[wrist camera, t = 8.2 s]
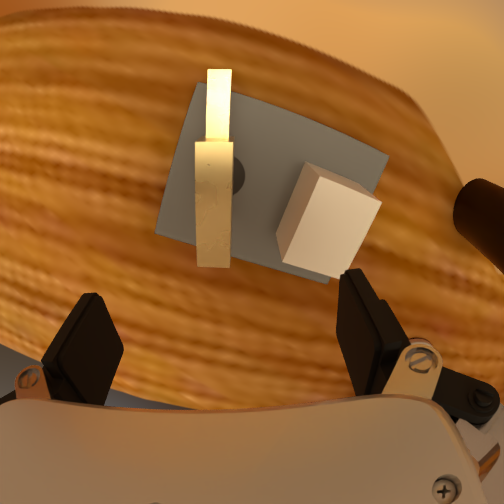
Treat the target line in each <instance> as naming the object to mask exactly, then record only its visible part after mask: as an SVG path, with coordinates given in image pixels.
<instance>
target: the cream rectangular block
mask: <svg viewBox="0 0 504 504" xmlns="http://www.w3.org/2000/svg"><path fill="white" fill-rule="evenodd" d="M381 203H382V202H381V201H380V200H378V199H377V198H376V197H375V196H374V195H372V194H371V193H370V192H369V191H367V190H366V189H365V188H364V187H362V186H361V185H360V184H359V183H357V182H354V181H352V180H350V179H347V178H345V177H343V176H340V175H338V174H336V173H333V172H331V171H328V170H326V169H323V168H321V167H318V166H316V165H313V164H311V163H308V162H306V161H305V164H304V166H303V168H302V171H301V173H300V176H299V178H298V181H297V183H296V186H295V188H294V190H293V193H292V195H291V198H290V200H289V202H288V205H287V207H286V210H285V212H284V215H283V217H282V219H281V222H280V224H279V227H278V229H277V231H276V237H277V241H278V246H279V250H280V254H281V259H282V262H284V263H287V264H290V265H294V266H297V267H300V268H304V269H307V270H310V271H314V272H317V273H320V274H324V275H327V276H330V277H334V278H337V279H340V275H341V274H344V272H345V270H348V268H349V266H350V264H351V262H352V261H353V259H354V257H355V255H356V253H357V251H358V249H359V247H360V245H361V243H362V242H363V240H364V238H365V236H366V234H367V232H368V230H369V228H370V226H371V224H372V222H373V220H374V218H375V216H376V214H377V212H378V210H379V207H380V205H381Z"/></svg>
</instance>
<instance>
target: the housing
mask: <svg viewBox="0 0 504 504" xmlns="http://www.w3.org/2000/svg"><path fill="white" fill-rule="evenodd" d="M206 110H207V84H205V83H201V82H198V83H197V86H196V89H195V91H194V94H193V97H192V100H191V103H190V106H189V109H188V112H187V115H186V119H185V122H184V125H183V128H182V131H181V134H180V138H179V141H178V144H177V148H176V151H175V155H174V158H173V162H172V165H171V169H170V173H169V176H168V180H167V184H166V188H165V192H164V196H163V200H162V204H161V208H160V212H159V216H158V220H157V225H156V229H155V234H158V235H162V236H165V237H168V238H172V239H175V240H178V241H181V242H185V243H188V244H191V245H195V246H196V214H195V142H196V141H197V140H198V139H199V138H200V137H202V136H206ZM229 136H234V137H235V141H234V169H233V202H232V241H231V256H232V257H235V258H238V259H242V260H245V261H249V262H252V263H255V264H259V265H262V266H266V267H269V268H272V269H276V270H279V271H283V272H286V273H290V274H293V275H296V276H300V277H303V278H307V279H310V280H314V281H317V282H321V283H324V284H327V283H328V282H329V280H330V278H331V277H330V276H327V275H324V274H320V273H317V272H314V271H310V270H307V269H304V268H300V267H297V266H294V265H290V264H287V263H284V262H282V259H281V254H280V250H279V246H278V241H277V237H276V231H277V229H278V227H279V224H280V222H281V219H282V217H283V215H284V212H285V210H286V207H287V205H288V202H289V200H290V198H291V195H292V193H293V190H294V188H295V186H296V183H297V181H298V178H299V176H300V173H301V171H302V168H303V166H304V164H305V161H306V162H308V163H311V164H313V165H316V166H318V167H321V168H323V169H326V170H328V171H331V172H333V173H336V174H338V175H340V176H343V177H345V178H347V179H350V180H352V181H354V182H357V183H359V184H360V185H361V186H362V187H364V188H365V189H366V190H367V191H369V192H370V193H371V194H373V192H374V190H375V188H376V185H377V183H378V181H379V179H380V177H381V174H382V172H383V170H384V168H385V165H386V163H387V161H388V159H389V156H388V155H386V154H384V153H382V152H380V151H378V150H376V149H374V148H372V147H370V146H368V145H366V144H364V143H362V142H360V141H358V140H356V139H354V138H352V137H350V136H347V135H345V134H343V133H341V132H339V131H336V130H334V129H332V128H330V127H327V126H325V125H323V124H320V123H318V122H315V121H313V120H311V119H308V118H306V117H303V116H301V115H298V114H296V113H293V112H290V111H288V110H285V109H282V108H280V107H277V106H274V105H271V104H269V103H266V102H263V101H260V100H257V99H254V98H251V97H248V96H245V95H242V94H239V93H235V92H232V91H231V100H230V125H229Z"/></svg>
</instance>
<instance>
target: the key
mask: <svg viewBox="0 0 504 504" xmlns="http://www.w3.org/2000/svg"><path fill="white" fill-rule="evenodd" d="M231 78H232V70H231V69H208V82H207V110H206V136H202V137H200V138H199V139H198V140H197V141H196V142H195V214H196V249H197V267H221V268H230V259H231V241H232V202H233V169H234V141H235V137H234V136H229V125H230V100H231Z"/></svg>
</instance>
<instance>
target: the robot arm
mask: <svg viewBox="0 0 504 504" xmlns="http://www.w3.org/2000/svg"><path fill="white" fill-rule="evenodd" d="M336 335H337V339H338V342H339V345H340V348H341V351H342V354H343V357H344V360H345V363H346V366H347V369H348V372H349V375H350V378H351V381H352V384H353V388H354V391H355V394H356V396H355V397H348V398H340V399H333V400H326V401H319V402H311V403H302V404H293V405H284V406H273V407H261V408H247V409H225V410H157V409H138V408H123V407H111V406H104V404H105V400H106V398H107V395H108V392H109V389H110V387H111V384H112V381H113V378H114V376H115V373H116V370H117V368H118V365H119V362H120V360H121V357H122V355H123V351H124V348H123V344H122V342H121V339H120V337H119V335H118V333H117V331H116V328H115V326H114V324H113V322H112V319H111V317H110V315H109V312H108V310H107V308H106V305H105V303H104V300H103V298H102V297H101V296H99V295H98V294H97V293H84V294H83V295H82V296H81V298H80V299H79V301H78V302H77V304H76V305H75V307H74V308H73V310H72V311H71V313H70V314H69V316H68V317H67V319H66V320H65V322H64V323H63V325H62V326H61V328H60V330H59V331H58V333H57V334H56V336H55V338H54V339H53V341H52V343H51V344H50V346H49V347H48V349H47V351H46V353H45V354H44V356H43V358H42V359H41V362H42V363H43V365H44V366H43V368H41V367H40V366H37V365H31V366H28V367H26V368H24V369H23V370H22V371H21V372H20V373H19V374H18V375H17V377H16V379H15V390H14V391H12V392H11V393H9V394H7V395H5V396H4V397H2V398H0V504H504V406H503V405H502V404H501V403H500V398H499V394H498V392H497V391H496V389H495V388H494V387H493V386H491V385H489V384H488V383H485V382H482V381H480V380H477V379H474V378H472V377H469V376H466V375H463V374H461V373H458V372H455V371H453V370H450V369H447V368H445V367H442V363H443V360H442V357H441V355H440V354H439V352H438V351H437V350H436V349H434V348H433V346H432V345H431V344H430V342H428V341H427V340H424V339H410V340H409V339H408V338H407V336H406V334H405V332H404V331H403V329H402V327H401V325H400V324H399V322H398V320H397V318H396V317H395V315H394V313H393V312H392V310H391V308H390V307H389V305H388V303H387V302H386V301H385V300H383V299H382V300H379V298H378V297H377V295H376V293H375V292H374V290H373V288H372V287H371V285H370V283H369V282H368V280H367V278H366V277H365V275H364V273H363V272H362V270H361V269H360V268H358V269H349V270H345V272H344V274H341V275H340V282H339V298H338V312H337V325H336Z"/></svg>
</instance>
